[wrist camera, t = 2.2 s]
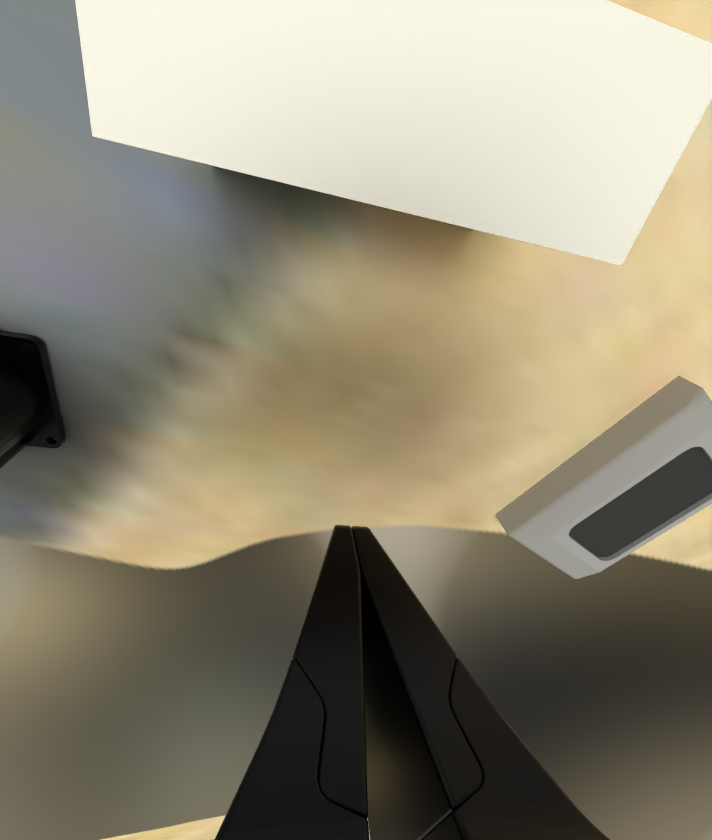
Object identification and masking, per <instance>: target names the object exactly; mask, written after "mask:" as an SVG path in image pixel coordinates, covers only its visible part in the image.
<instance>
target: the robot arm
mask: <svg viewBox="0 0 712 840" xmlns="http://www.w3.org/2000/svg"><path fill="white" fill-rule="evenodd" d="M27 344H30V345H31V346H32V347H33V349H34V350H32V349H30V348H29V347H28V346H27ZM51 437H52V438H54V439H56V440H53V439H52V438H51ZM64 442H65V434H64V429H63V425H62V421H61V416H60V412H59V408H58V403H57V399H56V395H55V391H54V386H53V382H52V378H51V373H50V369H49V365H48V361H47V356H46V352H45V348H44V345H43V343H42V342H41V341H40V340H39V339H37V338H36V337H33V336H29V335H22V334H15V333H9V332H2V331H0V468H1V467H3V466H4V465H5V464H6V463H7V462H8V461H9V460H10V459H11V458H13V457H14V456H15V455H16V454H17V453H18V452H19V451H20V450H21V449H23V448H24V447H25V446H37V447H48V448H58V447H60V446H61V445H62V444H63V443H64ZM367 818H368V821H367ZM368 822H369V829H368ZM368 830H370V838H371V840H610V839H609V838H607V837H606V836H605V835H604V834H603V833H602V832H601V831H600V830H599V829H598V828H596V827H595V826H594V825H593V824H592V823H591V822H590V821H589V820H588V819H587V818H586V817H585V815H584V814H583V813H582V812H581V811H580V810H579V809H578V808H577V807H576V806H575V804H574V803H573V802H572V801H571V800H570V799H569V797H568V796H567V795H566V794H565V793H564V791H563V790H562V789H561V788H560V786H559V785H558V784H557V783H556V782H555V780H554V779H553V778H552V777H551V776H550V774H549V773H548V772H547V771H546V769H545V768H544V767H543V766H542V765H541V763H540V762H539V761H538V760H537V758H536V757H535V756H534V755H533V754H532V752H531V751H530V750H529V749H528V748H527V746H526V745H525V744H524V743H523V741H522V740H521V739H520V738H519V737H518V735H517V734H516V733H515V732H514V731H513V729H512V728H511V727H510V726H509V724H508V723H507V722H506V721H505V719H504V718H503V717H502V715H501V714H500V713H499V712H498V710H497V709H496V708H495V707H494V705H493V704H492V703H491V702H490V700H489V699H488V697H487V696H486V695H485V693H484V692H483V691H482V689H481V688H480V687H479V685H478V684H477V682H476V681H475V680H474V678H473V677H472V676H471V675H470V673H469V671H468V670H467V668H466V667H465V665H464V664H463V663H462V661H461V660H460V658H456V653H455V651H454V650H453V648H452V647H451V646H450V644H449V643H448V641H447V640H446V638H445V637H444V635H443V634H442V633H441V631H440V630H439V628H438V627H437V625H436V624H435V623H434V621H433V620H432V618H431V617H430V615H429V614H428V612H427V611H426V610H425V608H424V607H423V605H422V604H421V602H420V601H419V599H418V598H417V597H416V595H415V594H414V592H413V591H412V590H411V588H410V587H409V585H408V584H407V582H406V581H405V579H404V578H403V576H402V575H401V574H400V572H399V571H398V569H397V568H396V566H395V565H394V564H393V562H392V561H391V559H390V558H389V556H388V555H387V553H386V552H385V551H384V549H383V548H382V546H381V545H380V543H379V542H378V540H377V539H376V538H375V536H374V535H373V534H372V532H371V530H370V529H369V528H367V527H360V526H353V527H352V528H351V527H350V526H345V525H336V526H335V527H334V529H333V532H332V536H331V538H330V541H329V545H328V548H327V551H326V554H325V557H324V560H323V563H322V566H321V569H320V572H319V575H318V578H317V581H316V584H315V588H314V590H313V594H312V597H311V600H310V603H309V606H308V609H307V612H306V615H305V618H304V621H303V624H302V627H301V630H300V634H299V637H298V640H297V643H296V646H295V649H294V652H293V655H292V659H291V661H290V664H289V667H288V670H287V673H286V676H285V679H284V682H283V684H282V687H281V690H280V693H279V696H278V698H277V701H276V704H275V707H274V709H273V712H272V714H271V717H270V719H269V721H268V724H267V726H266V728H265V730H264V733H263V735H262V737H261V740H260V742H259V745H258V747H257V749H256V751H255V753H254V755H253V758H252V760H251V762H250V764H249V766H248V768H247V771H246V773H245V775H244V777H243V779H242V781H241V784H240V786H239V788H238V790H237V792H236V795H235V797H234V799H233V801H232V803H231V805H230V808H229V810H228V812H227V814H226V816H225V818H224V821H223V823H222V825H221V827H220V829H219V832H218V834H217V836H216V838H215V840H369V831H368Z"/></svg>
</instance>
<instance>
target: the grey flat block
mask: <svg viewBox="0 0 712 840" xmlns="http://www.w3.org/2000/svg"><path fill="white" fill-rule="evenodd" d="M710 504H712V401H711V400H710V398H709V397H708V395H707V394H706V392H705V391H704V389H703V388H701V387H699V386H697V385H696V384H694V383H692V382H690V381H688V380H686V379H684V378H682V377H680V376H678V377H677V378H675V379H674V380H673V381H671V382H670V383H669V384H667V385H666V386H665V387H663V388H662V389H661V390H659V391H658V392H657V393H655V394H654V395H653V396H652V397H650V398H649V399H648V400H646V401H645V402H644V403H642V404H641V405H640V406H638V407H637V408H636V409H634V410H633V411H632V412H630V413H629V414H628V415H626V416H625V417H624V418H622V419H621V420H620V421H618V422H617V423H616V424H614V425H613V426H612V427H611V428H609V429H608V430H607V431H605V432H604V433H603V434H601V435H600V436H599V437H597V438H596V439H595V440H593V441H592V442H591V443H589V444H588V445H587V446H585V447H584V448H583V449H581V450H580V451H579V452H577V453H576V454H575V455H574V456H572V457H571V458H570V459H568V460H567V461H566V462H564V463H563V464H562V465H560V466H559V467H558V468H556V469H555V470H554V471H552V472H551V473H550V474H548V475H547V476H546V477H544V478H543V479H542V480H540V481H539V482H538V483H536V484H535V485H534V486H533V487H531V488H530V489H529V490H527V491H526V492H525V493H523V494H522V495H521V496H519V497H518V498H517V499H515V500H514V501H513V502H511V503H510V504H509V505H507V506H506V507H505V508H503V509H502V510H501V511H499V512H498V513H497V514H496V515H497V517H498V519H499V521H500V522H501V524H502V526H503V528H504V529H505V531H506V533H507V534H508V535H509V536H510V537H512V538H514V539H515V540H517V541H518V542H520V543H521V544H523V545H524V546H526V547H527V548H529V549H530V550H532V551H533V552H535V553H536V554H538V555H539V556H541V557H542V558H544V559H546V560H547V561H549V562H550V563H551V564H553V565H555V566H556V567H558V568H559V569H561V570H562V571H564V572H565V573H567V574H568V575H570V576H571V577H573V578H574V579H578V578H581V577H585V576H588V575H591V574H595V573H598V572H600V571H602V570H604V569H605V568H607V567H609V566H610V565H612V564H614V563H615V562H617V561H618V560H620V559H622V558H623V557H625V556H627V555H628V554H630V553H632V552H633V551H635V550H636V549H638V548H640V547H641V546H643V545H645V544H646V543H648V542H650V541H651V540H653V539H654V538H656V537H658V536H659V535H661V534H663V533H664V532H666V531H668V530H669V529H671V528H672V527H674V526H676V525H677V524H679V523H681V522H682V521H684V520H686V519H687V518H689V517H690V516H692V515H694V514H695V513H697V512H699V511H700V510H702V509H704V508H705V507H707V506H708V505H710Z"/></svg>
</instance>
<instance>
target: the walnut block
mask: <svg viewBox="0 0 712 840" xmlns="http://www.w3.org/2000/svg"><path fill="white" fill-rule="evenodd" d="M75 2H76V10H77V18H78V26H79V33H80V41H81V49H82V57H83V65H84V73H85V81H86V89H87V97H88V105H89V113H90V121H91V129H92V136H94V137H98V138H102V139H106V140H110V141H114V142H118V143H122V144H126V145H130V146H134V147H138V148H142V149H146V150H151V151H155V152H159V153H163V154H167V155H171V156H175V157H179V158H183V159H187V160H191V161H195V162H199V163H203V164H207V165H211V166H215V167H220V168H224V169H228V170H232V171H236V172H240V173H244V174H248V175H252V176H256V177H260V178H265V179H269V180H273V181H277V182H281V183H285V184H289V185H293V186H297V187H301V188H305V189H310V190H314V191H318V192H322V193H326V194H330V195H334V196H338V197H342V198H346V199H350V200H355V201H359V202H363V203H367V204H371V205H375V206H379V207H383V208H387V209H391V210H395V211H400V212H404V213H408V214H412V215H416V216H420V217H424V218H428V219H432V220H436V221H440V222H445V223H449V224H453V225H457V226H461V227H465V228H469V229H473V230H477V231H481V232H485V233H490V234H494V235H498V236H502V237H506V238H510V239H514V240H518V241H522V242H527V243H531V244H535V245H539V246H543V247H547V248H551V249H555V250H559V251H564V252H568V253H572V254H576V255H580V256H584V257H588V258H592V259H596V260H601V261H605V262H609V263H613V264H617V265H622V263H623V262H624V260H625V258H626V256H627V254H628V252H629V251H630V249H631V247H632V245H633V243H634V241H635V239H636V238H637V236H638V234H639V232H640V230H641V228H642V226H643V225H644V223H645V221H646V219H647V217H648V215H649V213H650V212H651V210H652V208H653V206H654V204H655V202H656V201H657V199H658V197H659V195H660V193H661V191H662V189H663V188H664V186H665V184H666V182H667V180H668V178H669V176H670V175H671V173H672V171H673V169H674V167H675V165H676V163H677V162H678V160H679V158H680V156H681V154H682V152H683V150H684V149H685V147H686V145H687V143H688V141H689V139H690V138H691V136H692V134H693V132H694V130H695V128H696V126H697V125H698V123H699V121H700V119H701V117H702V115H703V113H704V112H705V110H706V108H707V106H708V104H709V102H710V100H711V99H712V43H709V42H707V41H704V40H702V39H700V38H697V37H695V36H692V35H690V34H687V33H685V32H683V31H680V30H678V29H675V28H673V27H670V26H668V25H666V24H663V23H661V22H658V21H656V20H654V19H651V18H649V17H646V16H644V15H641V14H639V13H637V12H634V11H632V10H629V9H627V8H624V7H622V6H620V5H617V4H615V3H612V2H610V1H607V0H75Z"/></svg>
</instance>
